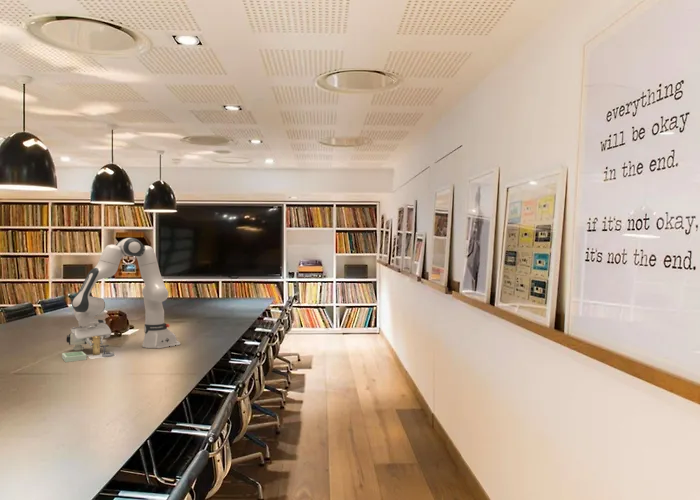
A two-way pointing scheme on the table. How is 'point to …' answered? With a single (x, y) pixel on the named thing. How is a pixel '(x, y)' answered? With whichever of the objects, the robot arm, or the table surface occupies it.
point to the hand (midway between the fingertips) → (96, 344)
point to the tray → (74, 356)
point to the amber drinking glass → (96, 345)
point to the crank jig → (102, 354)
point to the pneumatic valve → (75, 343)
